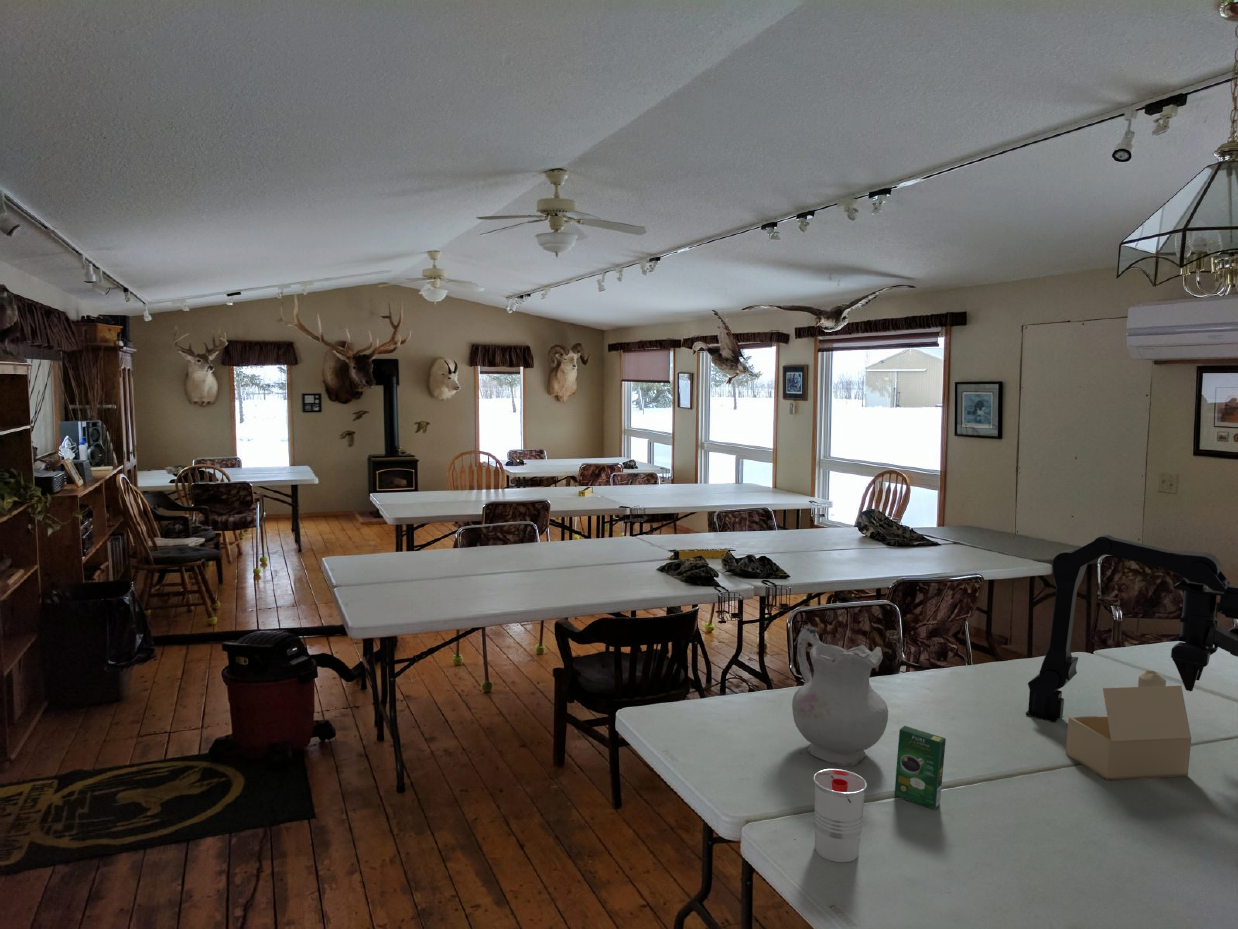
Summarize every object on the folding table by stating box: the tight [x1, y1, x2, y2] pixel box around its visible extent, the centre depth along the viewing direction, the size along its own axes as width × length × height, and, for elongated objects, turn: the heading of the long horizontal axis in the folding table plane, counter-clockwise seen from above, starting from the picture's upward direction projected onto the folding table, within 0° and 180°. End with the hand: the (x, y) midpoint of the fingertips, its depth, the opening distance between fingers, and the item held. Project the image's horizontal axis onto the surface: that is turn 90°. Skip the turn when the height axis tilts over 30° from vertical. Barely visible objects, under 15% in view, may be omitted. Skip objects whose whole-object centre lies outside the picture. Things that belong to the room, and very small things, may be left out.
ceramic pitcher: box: [791, 625, 889, 768], centre depth 176 cm, size 22×20×25 cm
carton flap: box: [1102, 685, 1192, 741], centre depth 168 cm, size 10×17×1 cm
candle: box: [1137, 670, 1167, 687], centre depth 202 cm, size 6×6×10 cm
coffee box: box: [893, 725, 947, 811], centre depth 156 cm, size 8×3×13 cm, turn 49°
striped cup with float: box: [812, 768, 868, 863], centre depth 138 cm, size 10×8×12 cm
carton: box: [1065, 715, 1192, 781], centre depth 173 cm, size 12×18×8 cm, turn 98°
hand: (1192, 685), depth 179 cm, fingers open, 9 cm apart
